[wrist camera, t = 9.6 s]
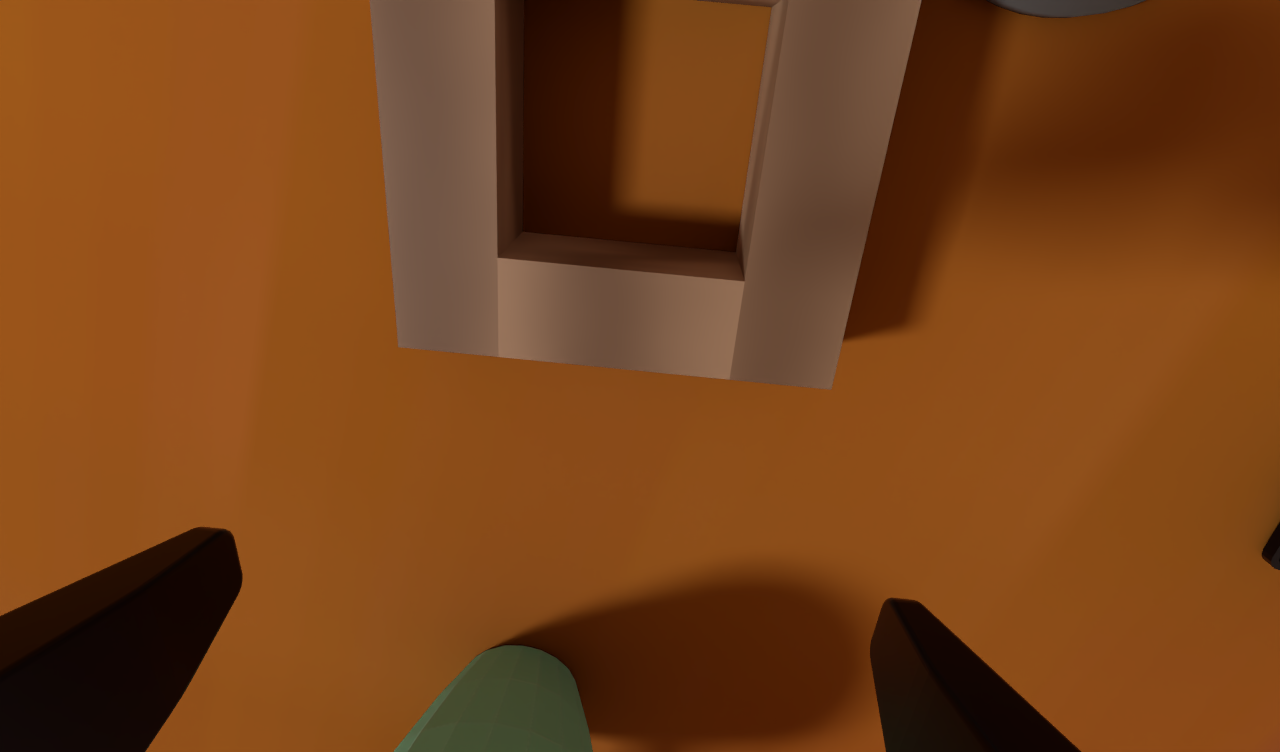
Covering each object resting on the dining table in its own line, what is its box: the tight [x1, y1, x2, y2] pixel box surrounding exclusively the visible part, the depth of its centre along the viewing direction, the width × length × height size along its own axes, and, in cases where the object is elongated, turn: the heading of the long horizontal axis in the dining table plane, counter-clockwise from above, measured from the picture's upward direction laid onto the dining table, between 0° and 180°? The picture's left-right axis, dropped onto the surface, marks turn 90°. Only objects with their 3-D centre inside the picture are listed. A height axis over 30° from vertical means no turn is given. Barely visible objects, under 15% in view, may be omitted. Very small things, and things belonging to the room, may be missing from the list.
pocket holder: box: [370, 0, 922, 390], centre depth 17 cm, size 12×12×3 cm
